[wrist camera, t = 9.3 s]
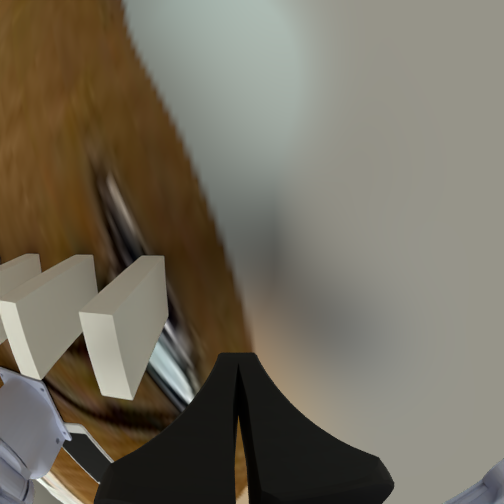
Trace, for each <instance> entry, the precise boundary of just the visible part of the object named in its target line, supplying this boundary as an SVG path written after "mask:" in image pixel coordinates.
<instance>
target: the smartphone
mask: <svg viewBox="0 0 504 504" xmlns="http://www.w3.org/2000/svg"><path fill="white" fill-rule="evenodd" d="M64 424H65V426H66V428H67V430H68V432H69V433H70V435H71V437H72V440H71V441H69V440H66V439H65V441H64V443H63V445H62V447H63V448H64V449H65V450H66V452H67V453H68V454H69V455H70V456H71V457H72V458H73V459H74V460H75V461H76V462H77V463H78V464H79V465H80V466H81V467H82V468H83V469H84V470H85V471H86V472H87V473H88V474H89V475H90V476H91V477H92V478H93V479H94V480H96V481H97V482H98V483H99V484H100V481H101V479H102V477H103V475H104V473H105V471H106V470H107V468H108V466H109V464H111V463H113V462H114V461H113V460H112V459H111V458H110V457H109V455H108V454H106V453H105V451H104V450H103V449H102V448H101V446H100V445H99V444H98V443H97V442H96V441H95V440H94V438H93V437H92V436H91V435H90V434H89V432H88V431H87V430H86V429H85V427H84V426H83V425H81V424H78V423H65V422H64Z"/></svg>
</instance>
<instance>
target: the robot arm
mask: <svg viewBox="0 0 504 504" xmlns="http://www.w3.org/2000/svg"><path fill="white" fill-rule="evenodd" d="M0 376H1V378H2V380H3V382H4V385H3V386H2V387H1V388H0V504H33V501H34V497H35V489H34V484H33V482H32V480H30V479H29V478H31V479H38V478H41V477H43V476H44V475H46V474H47V473H48V472H49V470H50V469H51V467H52V464H53V462H54V460H55V458H56V456H57V454H58V452H59V450H60V448H61V446H62V445H63V443H64V441H65V439H66V440H69V441H71V440H72V437H71V435H70V433H69V432H68V430H67V428H66V426H65V424H64V422H63V421H62V419H61V417H60V415H59V413H58V411H57V409H56V407H55V405H54V403H53V401H52V399H51V396H50V394H49V392H48V390H47V387H46V385H45V383H44V382H43V381H41V380H37V379H34V378H31V377H28V376H25V375H22V374H19V373H16V372H13V371H10V370H8V369H5V368H2V367H0ZM238 415H239V422H240V428H241V435H242V441H243V447H244V453H245V458H246V466H247V480H248V495H249V504H382V503H383V502H384V501H385V500H386V499H387V497H388V496H389V495H390V494H391V492H392V490H393V489H394V482H393V480H392V477H391V475H390V473H389V472H388V470H387V468H386V467H385V466H384V464H383V463H382V461H381V460H380V458H379V457H376V456H374V455H371V454H369V453H366V452H364V451H361V450H359V449H357V448H354V447H352V446H350V445H348V444H346V443H344V442H342V441H340V440H338V439H337V438H335V437H333V436H332V435H330V434H329V433H327V432H326V431H324V430H323V429H321V428H320V427H318V426H317V425H315V424H314V423H313V422H312V421H310V420H309V419H308V418H306V417H305V416H304V415H303V414H302V413H301V412H300V411H299V410H298V409H296V408H295V407H294V406H293V405H292V404H291V403H290V401H289V400H288V399H287V398H286V397H285V396H284V395H283V394H282V393H281V392H280V390H279V389H278V388H277V387H276V385H275V384H274V382H273V381H272V380H271V378H270V377H269V376H268V374H267V373H266V371H265V369H264V368H263V366H262V365H261V363H260V361H259V359H258V357H257V355H256V354H255V353H220V354H219V355H218V358H217V361H216V363H215V365H214V367H213V369H212V371H211V373H210V375H209V377H208V378H207V380H206V382H205V383H204V385H203V386H202V388H201V389H200V391H199V392H198V393H197V395H196V396H195V397H194V399H193V400H192V401H191V403H190V404H189V405H188V406H187V407H186V409H185V410H184V411H183V412H182V413H181V414H180V415H179V416H178V417H177V418H176V419H175V420H174V421H173V422H172V423H171V424H170V425H169V426H168V427H167V428H165V429H164V430H163V431H162V432H161V433H159V434H158V435H157V436H156V437H154V438H153V439H151V440H150V441H149V442H147V443H146V444H144V445H143V446H141V447H140V448H138V449H137V450H135V451H134V452H132V453H130V454H128V455H126V456H124V457H122V458H121V459H119V460H117V461H115V462H113V463H111V464H109V466H108V468H107V470H106V471H105V473H104V475H103V477H102V479H101V481H100V484H99V487H98V490H97V493H96V496H95V499H94V504H236V496H235V470H234V467H235V449H236V437H237V424H238ZM443 504H504V458H503V459H502V460H501V461H500V462H498V463H497V464H496V465H495V466H494V467H492V469H490V470H489V471H488V472H487V474H486V475H485V476H484V477H483V479H482V480H480V481H479V482H477V483H476V484H474V485H473V486H471V487H470V488H468V489H467V490H465V491H463V492H462V493H460V494H458V495H457V496H455V497H453V498H452V499H450V500H448V501H446V502H445V503H443Z"/></svg>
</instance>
